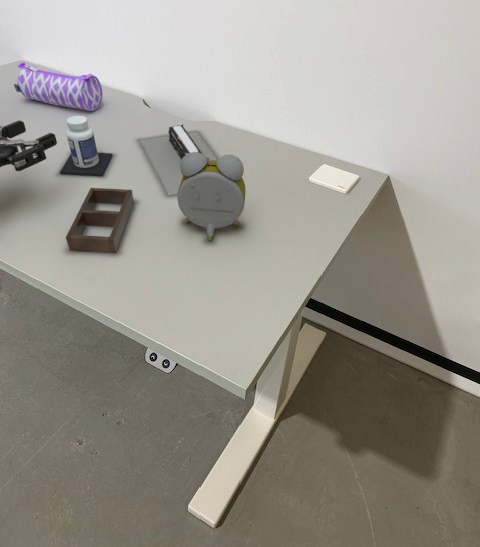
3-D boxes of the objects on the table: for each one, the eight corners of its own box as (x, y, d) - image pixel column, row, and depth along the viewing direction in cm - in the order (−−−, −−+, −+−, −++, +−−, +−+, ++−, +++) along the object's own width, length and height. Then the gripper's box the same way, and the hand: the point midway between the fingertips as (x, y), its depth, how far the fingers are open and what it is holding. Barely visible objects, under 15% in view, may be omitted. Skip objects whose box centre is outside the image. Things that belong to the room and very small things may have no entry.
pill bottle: (102, 157, 94) (93, 114, 87) (95, 169, 90) (86, 126, 83) (78, 155, 94) (68, 113, 87) (70, 168, 90) (58, 124, 83)
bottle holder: (69, 250, 72) (65, 237, 70) (93, 200, 83) (90, 187, 81) (116, 253, 72) (113, 239, 70) (133, 202, 83) (131, 189, 81)
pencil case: (18, 103, 113) (6, 66, 107) (40, 91, 120) (30, 55, 113) (90, 117, 109) (82, 80, 103) (109, 104, 116) (102, 68, 109)
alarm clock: (243, 221, 80) (248, 149, 70) (241, 244, 76) (246, 170, 65) (183, 217, 81) (179, 144, 70) (177, 239, 76) (171, 165, 65)
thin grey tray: (196, 132, 106) (196, 116, 103) (234, 183, 90) (235, 165, 87) (140, 140, 102) (137, 123, 99) (169, 195, 86) (167, 177, 83)
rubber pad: (60, 174, 89) (59, 171, 89) (73, 153, 96) (72, 151, 95) (102, 176, 90) (102, 174, 89) (112, 155, 96) (112, 153, 96)
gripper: (-23, 160, 64) (60, 122, 74) (-79, 134, 69) (7, 102, 79) (-5, 201, 69) (70, 160, 79) (-58, 174, 74) (19, 139, 84)
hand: (38, 131), depth 79 cm, fingers open, 8 cm apart
